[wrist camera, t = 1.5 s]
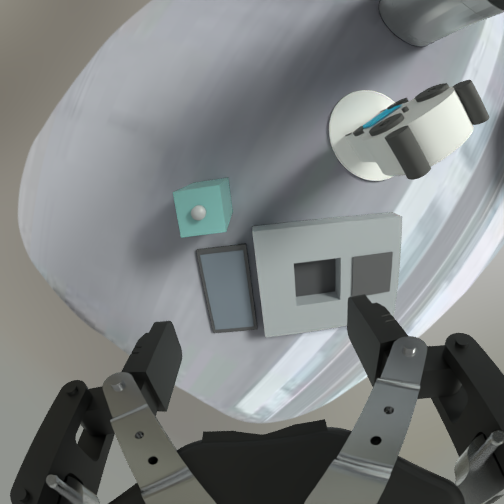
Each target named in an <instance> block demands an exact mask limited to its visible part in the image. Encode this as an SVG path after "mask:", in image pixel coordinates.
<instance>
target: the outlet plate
mask: <svg viewBox="0 0 504 504" xmlns="http://www.w3.org/2000/svg"><path fill="white" fill-rule="evenodd" d="M252 234H253V242H254V250H255V258H256V266H257V274H258V282H259V290H260V298H261V306H262V314H263V323H264V331H265V337H274V336H282V335H290V334H298V333H305V332H312V331H319V330H325V329H331V328H337V327H343V326H347V309H348V298H349V297H352V296H357V295H362V294H365V295H366V296H367V297H368V299H369V300H370V301H371V303H376V302H377V303H379V304H381V305H382V306H384V307H386V309H387V310H388V311H389V312H390V314H391V315H392V316H393V317H394V311H395V304H396V296H397V288H398V278H399V267H400V254H401V235H402V216H400V215H397V214H395V213H393V212H391V213H379V214H367V215H356V216H345V217H335V218H325V219H315V220H305V221H296V222H287V223H278V224H269V225H260V226H252Z"/></svg>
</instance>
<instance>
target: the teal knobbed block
mask: <svg viewBox="0 0 504 504" xmlns="http://www.w3.org/2000/svg"><path fill="white" fill-rule="evenodd" d="M173 196H174V202H175V208H176V214H177V219H178V225H179V230H180V235H181V238H183V237H190V236H198V235H206V234H213V233H221V232H226V231H227V228H228V225H229V222H230V219H231V216H232V213H233V209H232V202H231V195H230V187H229V180H228V178H222V179H215V180H208V181H202V182H195V183H192V184H190V185H188V186H185V187H183V188H181V189H179V190H177V191H175V192H173Z"/></svg>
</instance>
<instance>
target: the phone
mask: <svg viewBox="0 0 504 504" xmlns="http://www.w3.org/2000/svg"><path fill="white" fill-rule="evenodd" d="M196 252H197V257H198V263H199V268H200V273H201V278H202V283H203V287H204V292H205V297H206V301H207V306H208V311H209V315H210V319H211V324H212V328H213V332H214V333H220V332H232V331H244V330H254V329H257V323H256V315H255V308H254V301H253V293H252V286H251V278H250V271H249V263H248V256H247V248H246V244H238V245H230V246H221V247H213V248H204V249H197V250H196Z"/></svg>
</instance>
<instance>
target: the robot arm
mask: <svg viewBox="0 0 504 504" xmlns="http://www.w3.org/2000/svg"><path fill="white" fill-rule="evenodd" d="M379 11H380V14H381V17H382V19H383V21H384V22H385V24H386V25H387V26H388V28H389V29H390V30H391V31H392V32H393V33H394V34H395V35H397V36H398V37H399V38H401V39H402V40H403V41H405V42H407V43H409V44H412V45H415V46H420V47H422V46H427V45H429V44H431V43H434V42H435V41H437V40H439V39H441V38H443V37H446V36H448V35H450V34H452V33H454V32H456V31H459V30H461V29H463V28H465V27H468V26H470V25H472V24H475V23H477V22H480V21H482V20H484V19H487V18H490V17H492V16H495V15H497V14H500V13H503V12H504V0H381V1H380V3H379ZM347 331H348V336H349V339H350V341H351V343H352V345H353V347H354V349H355V351H356V353H357V355H358V357H359V359H360V361H361V363H362V365H363V367H364V369H365V371H366V374H367V376H368V378H369V380H370V382H371V384H372V386H373V389H372V391H371V394H370V396H369V398H368V401H367V402H366V404H365V407H364V408H363V411H362V413H361V415H360V417H359V419H358V421H357V423H356V424H355V426H354V428H353V430H352V431H349V430H346V429H341V428H334V427H327V426H326V422H325V419H324V420H319V421H313V422H308V423H302V424H295V425H292V426H289V427H287V428H284V429H281V430H278V431H275V432H272V433H268V434H264V435H259V434H251V433H243V432H236V431H217V432H203V438H202V440H200V441H196V442H193V443H190V444H188V445H185V446H184V447H182V448H180V449H179V450H177V449H176V448H175V446H174V445H173V443H172V442H171V440H170V439H169V437H168V435H167V434H166V433H165V431H164V430H163V428H162V426H161V425H160V423H159V421H158V420H157V418H156V413H157V411H167V409H168V405H169V402H170V398H171V394H172V391H173V388H174V384H175V381H176V378H177V374H178V371H179V368H180V364H181V361H182V350H181V346H180V344H179V341H178V338H177V335H176V332H175V329H174V326H173V324H172V322H171V321H163V322H155V323H154V324H153V326H152V328H151V330H150V332H149V333H145V334H144V335H143V336H142V337H141V338H140V339H139V340H138V342H137V343H136V345H135V348H134V349H133V351H132V354H131V355H130V356H129V358H128V360H127V362H126V364H125V366H124V368H123V370H122V372H119V373H115V374H113V375H111V376H109V377H108V378H107V379H106V380H105V381H104V383H103V386H102V387H98V388H92V389H88V388H87V386H86V384H85V383H84V382H83V381H80V380H74V381H71V382H69V383H67V384H66V385H64V386H63V387H62V389H61V390H60V392H59V394H58V396H57V397H56V399H55V401H54V402H53V404H52V406H51V408H50V410H49V411H48V413H47V415H46V417H45V419H44V421H43V423H42V424H41V426H40V428H39V430H38V432H37V434H36V436H35V438H34V440H33V442H32V444H31V446H30V448H29V450H28V453H27V454H26V457H25V459H24V461H23V463H22V465H21V468H20V470H19V472H18V474H17V477H16V479H15V482H14V484H13V487H12V489H11V493H10V497H11V502H12V504H100V501H99V499H98V497H97V492H98V488H99V484H100V481H101V477H102V474H103V470H104V467H105V463H106V460H107V456H108V453H109V450H110V447H111V444H112V441H113V437H114V434H115V435H116V438H117V440H118V442H119V445H120V447H121V449H122V452H123V454H124V456H125V458H126V461H127V463H128V465H129V467H130V469H131V471H132V473H133V475H134V477H135V479H136V481H137V483H136V484H135V485H133V486H132V487H131V488H129V489H128V490H127V491H125V492H124V493H123V494H121V495H120V496H118V497H117V498H116V499H114V500H113V501H111V502H110V503H109V504H491V503H494V502H495V501H497V500H498V499H499V498H500V497H502V496H503V495H504V375H503V374H502V373H501V371H500V370H499V368H498V367H497V366H496V365H495V363H494V362H493V361H492V360H491V359H490V357H489V356H488V355H487V354H486V352H485V351H484V350H483V349H482V348H481V347H480V346H479V344H478V343H477V342H476V341H475V340H474V339H473V338H472V337H471V336H469V335H467V334H464V333H455V334H452V335H450V336H449V337H448V338H447V339H446V342H445V345H443V346H429V347H428V346H427V345H426V344H425V342H424V341H422V340H421V339H419V338H416V337H411V336H408V335H407V334H406V332H405V331H404V330H403V329H402V327H401V326H400V325H399V324H398V322H397V321H396V320H395V318H394V317H393V316H392V315H391V314H390V312H389V311H388V310H387V309H386V307H384V306H382V305H381V304H379V303H377V302H376V303H371V301H370V300H369V299H368V297H367V296H366V295H365V294H362V295H357V296H352V297H349V298H348V309H347ZM422 398H431V399H432V401H433V403H434V405H435V407H436V409H437V411H438V413H439V414H440V417H441V419H442V421H443V423H444V424H445V427H446V429H447V431H448V433H449V435H450V437H451V439H452V442H453V444H454V446H455V448H456V450H457V453H458V455H459V459H458V460H457V462H456V464H455V469H454V470H455V477H456V478H455V479H456V481H455V484H454V483H453V482H451V481H450V480H448V479H446V478H444V477H441V476H439V475H437V474H434V473H432V472H430V471H428V470H425V469H424V468H422V467H419V466H417V465H415V464H413V463H411V462H409V461H407V460H405V459H403V458H401V457H399V456H398V455H399V452H400V450H401V447H402V444H403V441H404V439H405V436H406V433H407V430H408V427H409V424H410V421H411V418H412V415H413V412H414V408H415V405H416V401H417V399H422ZM80 424H81V426H82V427H83V428H84V429H83V432H82V434H81V436H80V439H79V441H78V444H77V443H76V440H75V436H76V433H77V430H78V428H79V426H80Z"/></svg>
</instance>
